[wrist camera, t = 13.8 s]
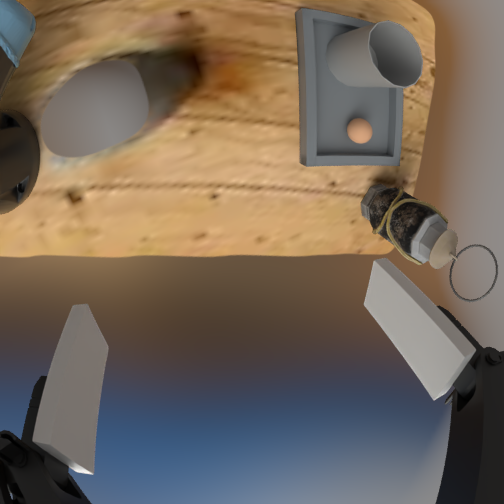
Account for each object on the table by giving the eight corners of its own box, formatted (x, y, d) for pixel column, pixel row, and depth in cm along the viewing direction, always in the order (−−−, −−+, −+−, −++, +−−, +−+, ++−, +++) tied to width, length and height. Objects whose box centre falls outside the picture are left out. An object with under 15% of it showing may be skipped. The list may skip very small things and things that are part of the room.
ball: (341, 141, 36) (355, 145, 33) (342, 116, 34) (356, 118, 31) (362, 141, 36) (376, 146, 33) (363, 118, 35) (378, 120, 31)
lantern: (377, 233, 46) (477, 325, 24) (346, 214, 42) (459, 314, 21) (402, 192, 43) (516, 266, 21) (374, 169, 39) (505, 241, 18)
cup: (374, 40, 28) (420, 32, 20) (377, 89, 33) (424, 92, 24) (323, 30, 27) (364, 13, 19) (327, 84, 31) (369, 81, 23)
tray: (299, 162, 37) (306, 166, 35) (295, 12, 26) (301, 7, 24) (390, 162, 39) (399, 165, 37) (390, 33, 28) (400, 31, 26)
